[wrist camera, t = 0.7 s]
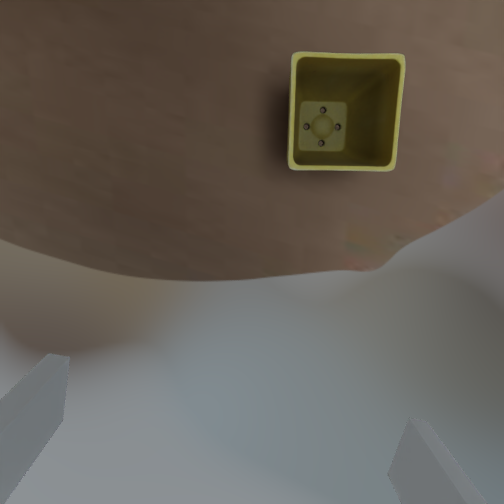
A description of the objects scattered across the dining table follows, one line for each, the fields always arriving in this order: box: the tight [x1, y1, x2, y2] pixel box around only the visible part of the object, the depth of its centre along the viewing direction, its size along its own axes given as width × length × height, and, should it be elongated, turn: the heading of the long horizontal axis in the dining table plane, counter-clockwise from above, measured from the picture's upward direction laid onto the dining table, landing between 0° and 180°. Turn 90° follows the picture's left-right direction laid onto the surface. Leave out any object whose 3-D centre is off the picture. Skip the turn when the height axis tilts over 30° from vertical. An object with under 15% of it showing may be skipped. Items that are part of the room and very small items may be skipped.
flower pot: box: [287, 52, 405, 172], centre depth 32 cm, size 9×9×9 cm
